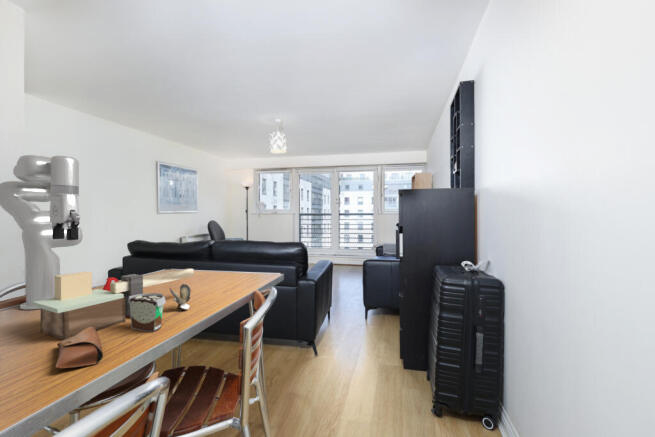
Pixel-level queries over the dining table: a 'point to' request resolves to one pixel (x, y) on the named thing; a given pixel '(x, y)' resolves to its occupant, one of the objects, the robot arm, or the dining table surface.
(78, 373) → the dining table surface
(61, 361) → the sunglasses case
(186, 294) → the eagle figurine
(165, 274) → the cream wooden bar
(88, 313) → the toolbox
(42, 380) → the dining table surface
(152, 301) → the food container
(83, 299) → the lid
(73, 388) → the dining table surface
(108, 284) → the tracker holder
